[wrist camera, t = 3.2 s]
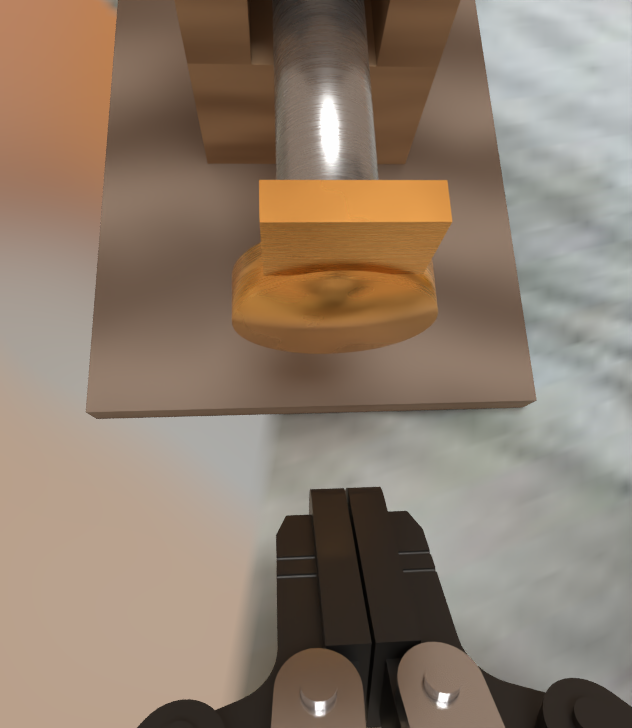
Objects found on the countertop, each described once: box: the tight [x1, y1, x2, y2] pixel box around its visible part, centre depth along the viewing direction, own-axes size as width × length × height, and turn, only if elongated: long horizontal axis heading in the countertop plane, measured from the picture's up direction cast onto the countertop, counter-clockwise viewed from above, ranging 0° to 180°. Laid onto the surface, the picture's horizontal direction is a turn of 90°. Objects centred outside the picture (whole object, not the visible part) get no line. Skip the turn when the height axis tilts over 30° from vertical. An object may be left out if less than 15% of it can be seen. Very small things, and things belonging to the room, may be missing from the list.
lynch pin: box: [232, 0, 452, 354], centre depth 14 cm, size 12×5×7 cm, turn 2°
